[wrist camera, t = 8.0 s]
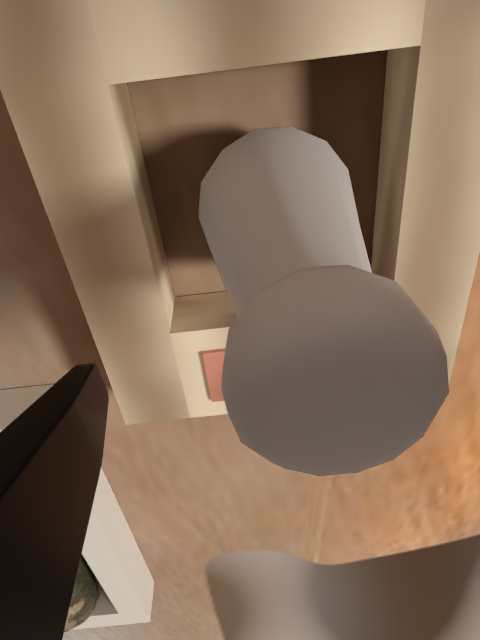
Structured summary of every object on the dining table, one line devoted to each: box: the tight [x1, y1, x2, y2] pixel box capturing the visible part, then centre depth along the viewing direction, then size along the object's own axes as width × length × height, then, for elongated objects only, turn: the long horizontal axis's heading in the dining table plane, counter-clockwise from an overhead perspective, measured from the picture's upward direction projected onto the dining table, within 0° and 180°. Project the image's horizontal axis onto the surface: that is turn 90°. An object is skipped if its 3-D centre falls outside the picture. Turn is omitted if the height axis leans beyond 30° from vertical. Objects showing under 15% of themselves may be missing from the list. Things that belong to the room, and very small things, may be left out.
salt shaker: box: [198, 126, 449, 476], centre depth 13 cm, size 6×6×13 cm
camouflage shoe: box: [64, 555, 100, 632], centre depth 29 cm, size 18×7×6 cm, turn 179°
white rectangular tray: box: [0, 384, 154, 630], centre depth 29 cm, size 12×23×3 cm, turn 6°
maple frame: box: [0, 0, 480, 425], centre depth 17 cm, size 16×20×3 cm
